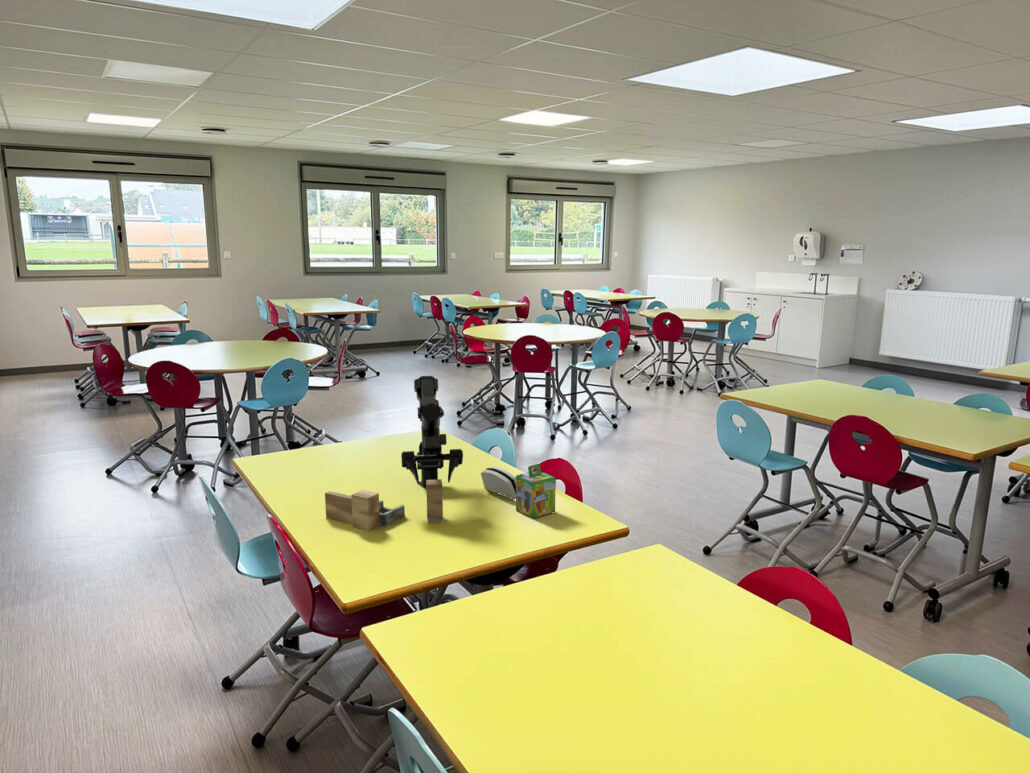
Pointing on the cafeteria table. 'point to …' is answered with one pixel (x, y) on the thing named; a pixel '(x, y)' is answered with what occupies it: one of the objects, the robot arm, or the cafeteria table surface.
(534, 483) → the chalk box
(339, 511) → the wooden fixture with frame
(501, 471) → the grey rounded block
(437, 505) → the wooden block
